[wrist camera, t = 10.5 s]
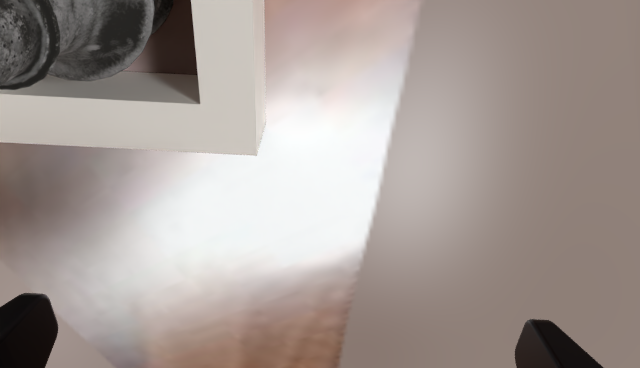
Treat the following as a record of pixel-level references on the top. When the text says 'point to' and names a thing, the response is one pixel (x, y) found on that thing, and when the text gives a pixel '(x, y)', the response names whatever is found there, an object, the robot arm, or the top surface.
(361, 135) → the top surface
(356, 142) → the top surface
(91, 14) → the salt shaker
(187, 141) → the socket block
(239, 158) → the top surface
